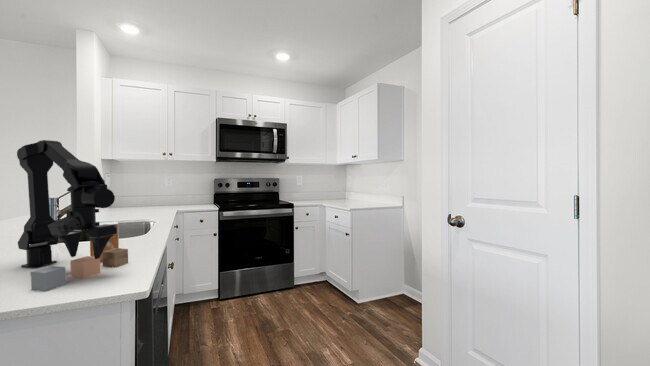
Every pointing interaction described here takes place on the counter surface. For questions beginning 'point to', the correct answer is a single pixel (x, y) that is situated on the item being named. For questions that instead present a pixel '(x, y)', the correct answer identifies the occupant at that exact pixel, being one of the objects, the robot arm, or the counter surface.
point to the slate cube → (48, 278)
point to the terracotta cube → (85, 267)
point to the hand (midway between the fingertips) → (85, 257)
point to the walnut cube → (115, 257)
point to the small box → (111, 243)
